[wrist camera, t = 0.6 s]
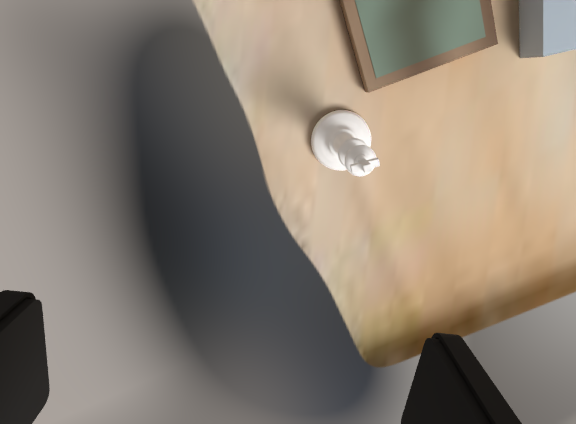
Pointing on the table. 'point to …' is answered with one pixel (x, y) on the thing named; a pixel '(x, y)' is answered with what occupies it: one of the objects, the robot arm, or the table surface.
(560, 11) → the slate-blue brick
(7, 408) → the robot arm
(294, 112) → the table surface
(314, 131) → the chess piece
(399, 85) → the table surface
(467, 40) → the green-topped square tray
